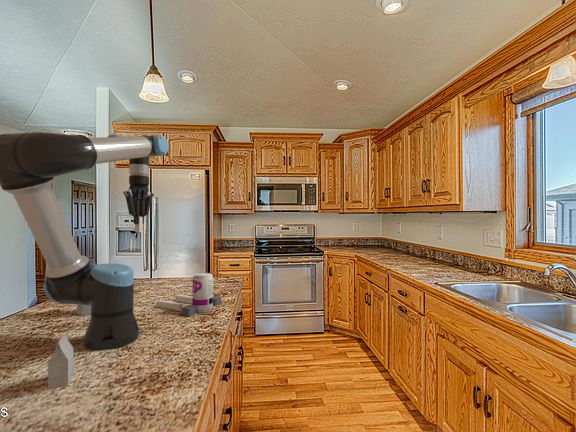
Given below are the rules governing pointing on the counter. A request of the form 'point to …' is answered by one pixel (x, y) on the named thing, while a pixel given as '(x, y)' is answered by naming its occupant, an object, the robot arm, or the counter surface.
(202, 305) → the supplement can
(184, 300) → the chute
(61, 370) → the gray house shaped block
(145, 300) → the counter surface
